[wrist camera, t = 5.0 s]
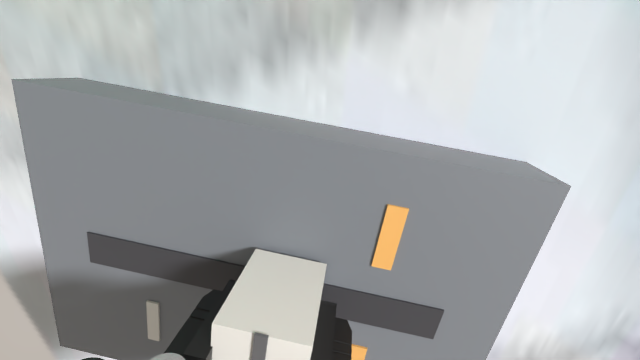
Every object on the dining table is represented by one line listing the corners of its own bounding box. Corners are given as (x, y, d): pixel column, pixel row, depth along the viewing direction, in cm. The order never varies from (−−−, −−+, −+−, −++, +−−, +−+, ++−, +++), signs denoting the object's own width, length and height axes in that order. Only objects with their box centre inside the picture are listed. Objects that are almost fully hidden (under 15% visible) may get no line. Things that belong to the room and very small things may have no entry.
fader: (255, 247, 13) (210, 324, 9) (327, 262, 12) (312, 349, 9) (247, 322, 14) (205, 417, 10) (311, 337, 14) (293, 439, 10)
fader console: (78, 78, 14) (8, 79, 12) (526, 162, 13) (572, 187, 10) (103, 306, 19) (58, 347, 16) (432, 383, 18) (446, 442, 15)
